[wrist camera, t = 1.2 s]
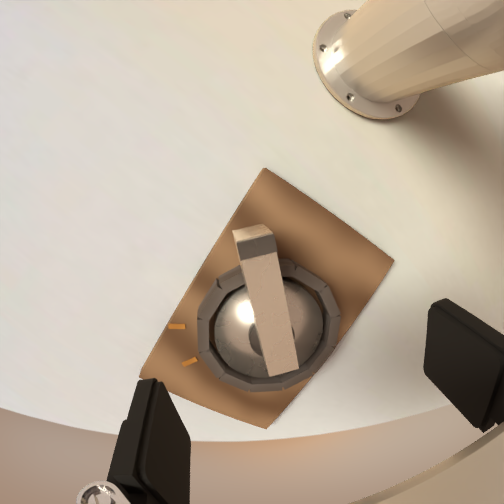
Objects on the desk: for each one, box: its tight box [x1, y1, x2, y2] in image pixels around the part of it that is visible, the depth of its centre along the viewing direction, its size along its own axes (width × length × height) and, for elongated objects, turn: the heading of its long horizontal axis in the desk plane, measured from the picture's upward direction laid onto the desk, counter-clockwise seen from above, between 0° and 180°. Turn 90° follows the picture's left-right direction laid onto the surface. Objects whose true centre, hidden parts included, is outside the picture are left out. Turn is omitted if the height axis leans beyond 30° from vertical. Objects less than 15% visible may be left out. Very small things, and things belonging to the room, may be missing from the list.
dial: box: [214, 224, 323, 378], centre depth 25 cm, size 15×10×7 cm, turn 12°
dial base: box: [139, 168, 394, 429], centre depth 29 cm, size 24×16×4 cm
